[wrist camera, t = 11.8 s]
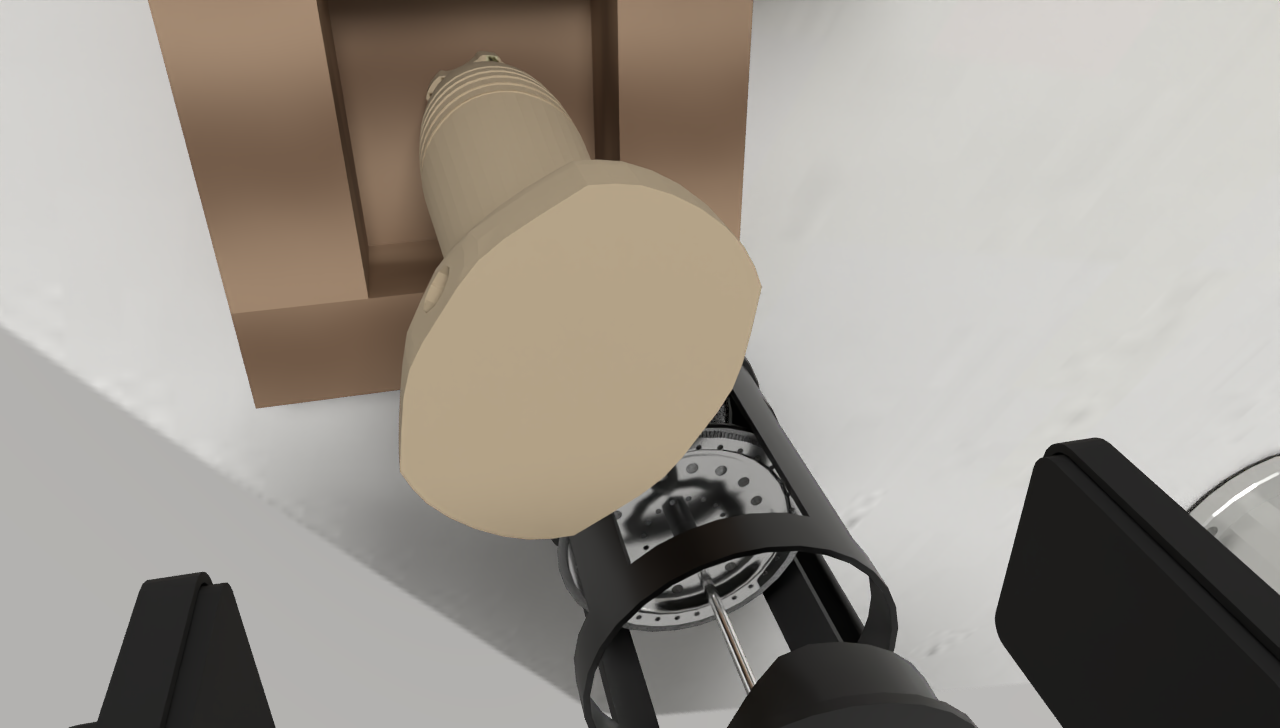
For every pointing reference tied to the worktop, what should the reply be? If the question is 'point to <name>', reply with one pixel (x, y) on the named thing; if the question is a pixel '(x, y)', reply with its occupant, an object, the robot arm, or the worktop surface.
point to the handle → (558, 316)
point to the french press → (742, 586)
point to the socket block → (411, 147)
